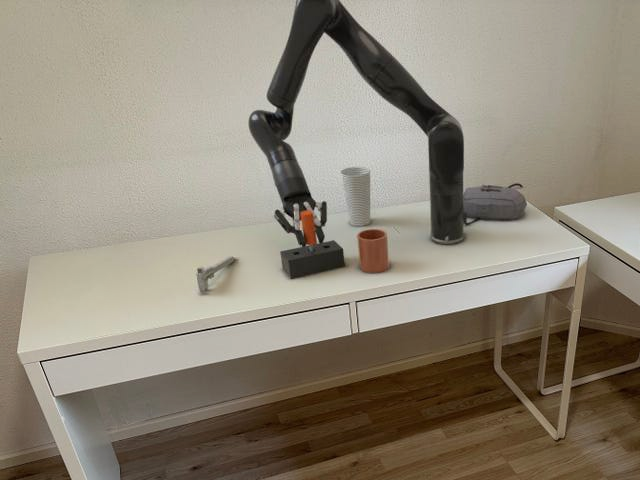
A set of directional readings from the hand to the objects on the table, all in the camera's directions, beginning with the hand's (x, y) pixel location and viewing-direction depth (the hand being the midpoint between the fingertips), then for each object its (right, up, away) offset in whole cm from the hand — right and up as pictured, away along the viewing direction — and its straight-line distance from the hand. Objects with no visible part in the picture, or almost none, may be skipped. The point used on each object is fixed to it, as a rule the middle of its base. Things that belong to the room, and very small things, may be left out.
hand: (313, 243), depth 169 cm
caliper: (-24, -8, +1) cm, 26 cm away
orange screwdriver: (-1, -5, +6) cm, 8 cm away
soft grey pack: (+46, +16, +40) cm, 63 cm away
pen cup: (+14, -5, +6) cm, 17 cm away
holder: (-1, -5, +6) cm, 8 cm away
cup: (+6, +12, +32) cm, 35 cm away
